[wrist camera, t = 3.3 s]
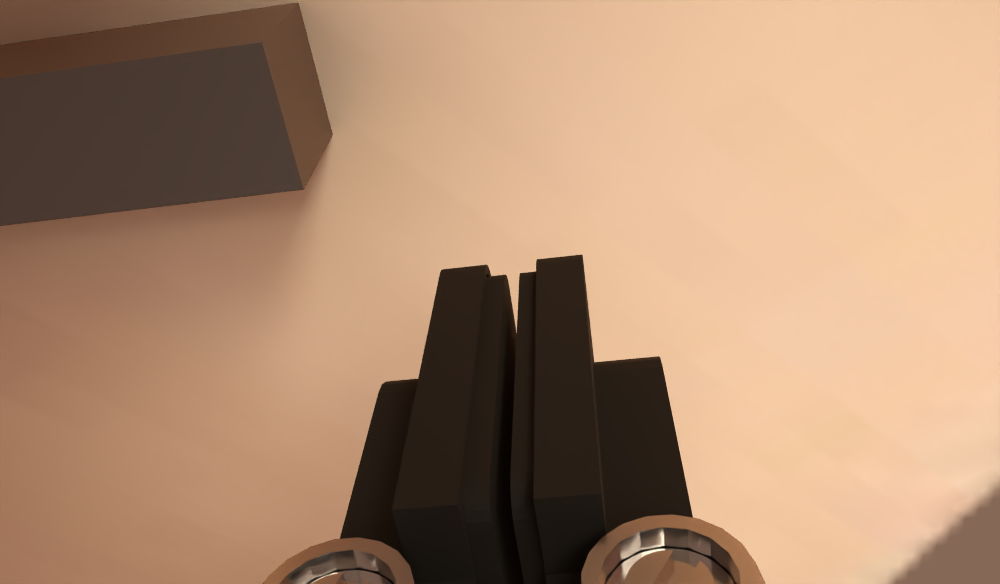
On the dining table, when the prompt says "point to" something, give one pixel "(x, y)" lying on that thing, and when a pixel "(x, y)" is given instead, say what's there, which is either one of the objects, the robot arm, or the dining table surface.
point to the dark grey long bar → (159, 115)
